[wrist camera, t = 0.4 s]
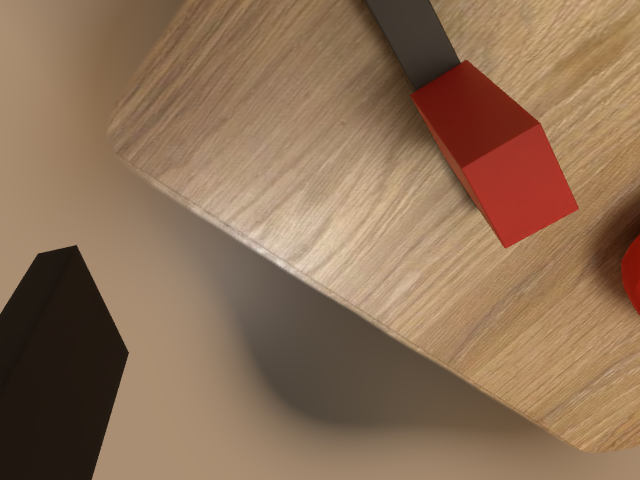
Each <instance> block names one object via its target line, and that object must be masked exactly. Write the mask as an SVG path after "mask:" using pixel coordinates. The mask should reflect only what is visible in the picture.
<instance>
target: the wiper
mask: <svg viewBox="0 0 640 480" xmlns="http://www.w3.org/2000/svg"><path fill="white" fill-rule="evenodd" d="M362 1H363V3H364V5H365V6H366V8H367V10H368V12H369V14H370V15H371V17H372V19H373V21H374V23H375V24H376V26H377V28H378V30H379V31H380V33H381V35H382V37H383V39H384V40H385V42H386V44H387V46H388V48H389V49H390V51H391V53H392V55H393V57H394V58H395V60H396V62H397V64H398V66H399V67H400V69H401V71H402V73H403V75H404V76H405V78H406V80H407V82H408V84H409V85H410V87H411V89H412V91H413V93H412V94H411V95H410V96H411V98H412V100H413V102H414V103H415V105H416V107H417V109H418V111H419V112H420V114H421V116H422V118H423V119H424V121H425V123H426V125H427V127H428V128H429V130H430V132H431V134H432V135H433V137H434V139H435V141H436V143H437V144H438V146H439V148H440V150H441V152H442V153H443V155H444V157H445V159H446V160H447V162H448V163H449V165H450V166H451V168H452V169H453V171H454V172H455V174H456V175H457V177H458V178H459V180H460V181H461V183H462V184H463V186H464V187H465V189H466V190H467V192H468V194H469V195H470V197H471V198H472V200H473V201H474V203H475V204H476V206H477V207H478V209H479V211H480V212H481V214H482V215H483V217H484V218H485V220H486V221H487V223H488V224H489V226H490V227H491V228H492V230H493V231H494V233H495V234H496V236H497V237H498V239H499V240H500V242H501V243H502V245H503V246H504V248H507V247H509V246H511V245H513V244H515V243H517V242H519V241H520V240H522V239H524V238H526V237H528V236H530V235H532V234H533V233H535V232H537V231H539V230H541V229H543V228H545V227H546V226H548V225H550V224H552V223H554V222H556V221H558V220H559V219H561V218H563V217H565V216H567V215H569V214H571V213H572V212H574V211H576V210H578V206H577V203H576V201H575V199H574V197H573V195H572V192H571V190H570V188H569V186H568V183H567V181H566V179H565V177H564V175H563V172H562V170H561V168H560V166H559V163H558V161H557V159H556V157H555V155H554V152H553V150H552V148H551V146H550V143H549V141H548V139H547V137H546V135H545V132H544V130H543V128H542V126H541V123H539V122H538V121H537V120H536V119H535V118H534V117H533V116H531V115H530V114H529V113H528V112H527V111H526V110H524V109H523V108H522V107H521V106H520V105H519V104H517V103H516V102H515V101H514V100H513V99H512V98H510V97H509V96H508V95H507V94H506V93H505V92H504V91H502V90H501V89H500V88H499V87H498V86H497V85H495V84H494V83H493V82H492V81H491V80H490V79H488V78H487V77H486V76H485V75H484V74H483V73H481V72H480V71H479V70H478V69H477V68H476V67H474V66H473V65H472V64H471V63H470V62H469V61H468V60H465V61H464V62H462V63H460V61H459V59H458V57H457V55H456V53H455V51H454V49H453V47H452V45H451V43H450V41H449V39H448V37H447V35H446V33H445V31H444V29H443V27H442V25H441V23H440V21H439V19H438V17H437V15H436V13H435V11H434V9H433V7H432V5H431V3H430V1H429V0H362Z"/></svg>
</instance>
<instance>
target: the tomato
mask: <svg viewBox="0 0 640 480" xmlns="http://www.w3.org/2000/svg"><path fill="white" fill-rule="evenodd" d="M621 276H622V281H623V285H624V289H625V291H626V293H627V295H628V297H629V299H630V301H631V303H632V305H633V307H634V308H635V309H636V311H637V312H638V314H639V315H640V234H639V235H638V236H637V238H636V239H635V240H634V241H633V242H632V243H631V245H630V246H629V248H628V250H627V252H626V254H625V255H624V257H623V259H622V261H621Z"/></svg>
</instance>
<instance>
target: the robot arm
mask: <svg viewBox="0 0 640 480" xmlns="http://www.w3.org/2000/svg"><path fill="white" fill-rule="evenodd" d="M128 354H129V352H128V350H127V348H126V346H125V344H124V342H123V340H122V338H121V336H120V334H119V332H118V329H117V327H116V325H115V323H114V321H113V319H112V317H111V315H110V313H109V311H108V309H107V307H106V305H105V303H104V301H103V299H102V297H101V294H100V292H99V290H98V289H97V286H96V284H95V282H94V280H93V278H92V276H91V274H90V272H89V270H88V268H87V266H86V264H85V262H84V259H83V257H82V255H81V253H80V251H79V249H78V247H77V245H75V246H71V247H66V248H62V249H57V250H53V251H49V252H43V253H39V254H38V255H37V256H36V258H35V259H34V261H33V263H32V264H31V266H30V267H29V269H28V271H27V272H26V274H25V275H24V277H23V279H22V280H21V282H20V283H19V285H18V287H17V288H16V290H15V291H14V293H13V295H12V296H11V298H10V299H9V301H8V303H7V304H6V306H5V307H4V309H3V311H2V312H1V314H0V480H92V477H93V473H94V470H95V466H96V463H97V460H98V456H99V453H100V449H101V446H102V442H103V439H104V436H105V432H106V429H107V425H108V422H109V419H110V415H111V412H112V408H113V405H114V401H115V398H116V395H117V391H118V388H119V385H120V381H121V377H122V374H123V371H124V368H125V364H126V361H127V357H128Z"/></svg>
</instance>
